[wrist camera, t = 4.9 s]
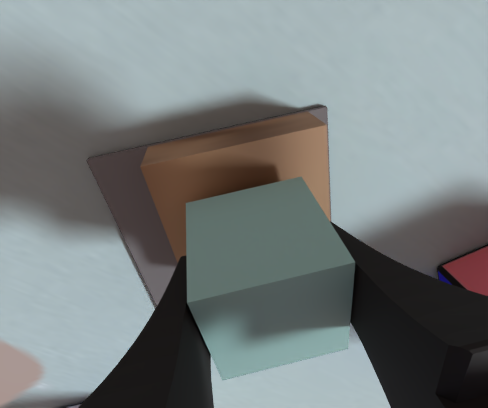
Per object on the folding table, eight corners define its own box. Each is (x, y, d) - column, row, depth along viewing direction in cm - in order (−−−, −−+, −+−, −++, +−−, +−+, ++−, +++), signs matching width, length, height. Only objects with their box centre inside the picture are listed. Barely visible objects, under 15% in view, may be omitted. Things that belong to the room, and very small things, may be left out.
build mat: (164, 317, 21) (164, 321, 21) (88, 158, 15) (86, 160, 15) (331, 276, 21) (333, 280, 21) (324, 105, 15) (327, 106, 15)
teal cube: (212, 279, 16) (222, 380, 12) (185, 203, 13) (187, 302, 9) (306, 257, 16) (347, 348, 12) (301, 176, 13) (355, 262, 9)
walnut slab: (191, 267, 19) (191, 298, 17) (148, 146, 15) (140, 166, 13) (316, 238, 19) (332, 264, 17) (307, 111, 15) (326, 124, 13)
